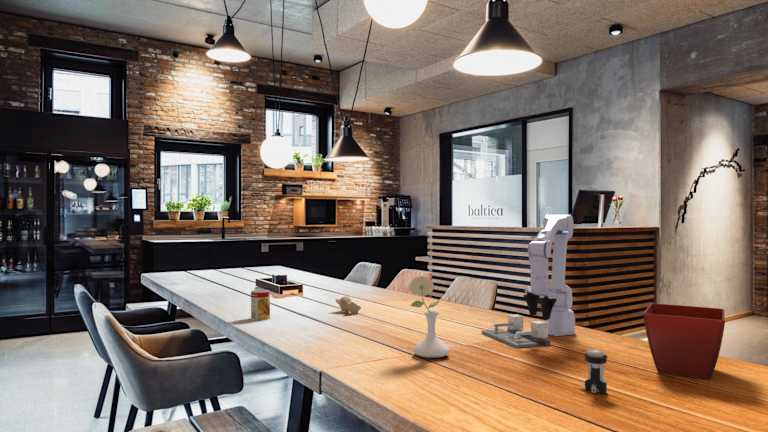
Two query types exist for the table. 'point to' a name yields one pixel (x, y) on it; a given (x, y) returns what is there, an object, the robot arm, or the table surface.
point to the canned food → (260, 305)
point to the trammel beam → (539, 340)
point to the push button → (595, 372)
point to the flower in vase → (431, 343)
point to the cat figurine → (347, 305)
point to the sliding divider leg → (536, 330)
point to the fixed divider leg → (512, 323)
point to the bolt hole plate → (509, 338)
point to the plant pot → (684, 338)
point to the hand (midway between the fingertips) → (539, 317)
